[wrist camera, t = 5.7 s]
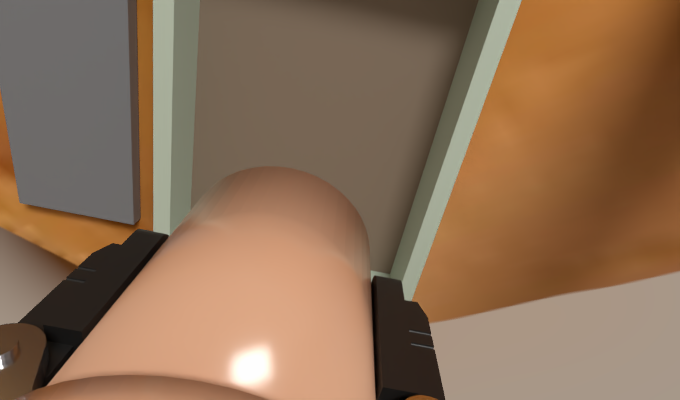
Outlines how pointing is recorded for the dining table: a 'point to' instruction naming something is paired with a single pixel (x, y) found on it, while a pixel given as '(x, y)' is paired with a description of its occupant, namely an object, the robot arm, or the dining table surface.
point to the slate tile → (73, 104)
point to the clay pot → (240, 303)
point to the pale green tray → (326, 104)
